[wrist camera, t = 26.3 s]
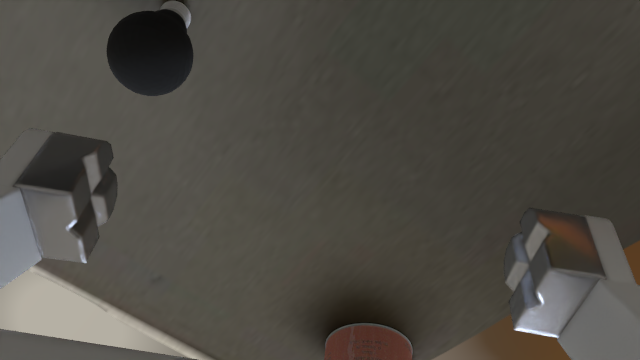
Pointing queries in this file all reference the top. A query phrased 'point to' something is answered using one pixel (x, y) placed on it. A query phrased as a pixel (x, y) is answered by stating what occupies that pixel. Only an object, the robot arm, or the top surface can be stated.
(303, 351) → the top surface
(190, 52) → the light bulb
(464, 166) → the top surface
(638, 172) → the top surface
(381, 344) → the canned food
